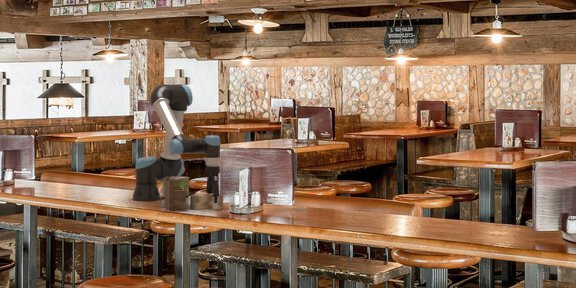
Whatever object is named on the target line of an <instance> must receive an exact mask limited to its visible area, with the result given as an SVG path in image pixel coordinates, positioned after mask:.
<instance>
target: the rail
mask: <svg viewBox="0 0 576 288" xmlns="http://www.w3.org/2000/svg"><path fill="white" fill-rule="evenodd" d="M212 195H213V193H211V194H208V193H206V194H204V193H202V194H198V193H197V194H189V196H190V197H189V201H190V202H189V203H190V207H189V208H190V209H191V210H192V209H194V210H214V209H213V197H212ZM220 209H224V194H222V193H219V196H218V209H217V210H220Z"/></svg>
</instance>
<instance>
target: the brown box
mask: <svg viewBox="0 0 576 288" xmlns="http://www.w3.org/2000/svg"><path fill="white" fill-rule="evenodd" d="M165 208H166V211H168V210H169V211H168V212H186V211H187V204H186V191H185V190H182V188H174V179H170V177H165V206H164V209H165Z"/></svg>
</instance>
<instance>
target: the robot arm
mask: <svg viewBox="0 0 576 288" xmlns="http://www.w3.org/2000/svg"><path fill="white" fill-rule="evenodd" d="M149 96H150V97H149V102H150V106H151V108H152V110H153V111H154V112H156V114H157V115H158V118H159V119H160V122H161V124H162V126H163V128H164V129H165V133H164V134H165V135H164V142H163V143H164V144H163V152H161V153H160V154H159V158H158V156H145V157H140V158H139V157H138V159H136V161H135V186H134V190H133V193H132V200H133V201H138V202H139V201H140V202H141V201H142V202H152V201H160V200H161V193H160V191H159V187H158V181H161V180H162V181H163V179H164V178H165V177H182V175H183V173H184V170H185V165H184V163H185V162H184V160H183V158H182V156H181V155H182V154H183V155H184V154H185V155H186V154H204V155H205V159H204V160H203V161H204V162H205V167H204V168H205V170H204V173H205V174H207V175H206V176H207V177H206V188H205V189H206V190H205V192H206V194H213V195H212V197H213V209H212V210H219V209H218V196H219V194H220V188H219V176H217V174H221V138H220V136H219V135H211V134H210V135H206V136H205V138H203V137H202V138H201V137H200V138H186V136H185V134H184V132H183V130H182V129H183V121H184V113H186V112H187V110H188V107H190V106H191V105H192V104H193V99H194V98H193V92H192V89H191V88H190V87H189V85H186V84H177V83H176V84H175V83H174V84H166V83H165V84H163V83H162V84H159V85H157V86H156V87H154V88H153V90H152V91H151V94H150V95H149Z"/></svg>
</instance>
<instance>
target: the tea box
mask: <svg viewBox="0 0 576 288" xmlns="http://www.w3.org/2000/svg"><path fill="white" fill-rule="evenodd" d="M170 179H174V188H182V190H185V191H186V205H189V203H190V202H189V201H190V197H189V196H190V176H181V177H170ZM161 204H162V205H161V206H162V207H165V178H164V179H163V180H162V203H161Z"/></svg>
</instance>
